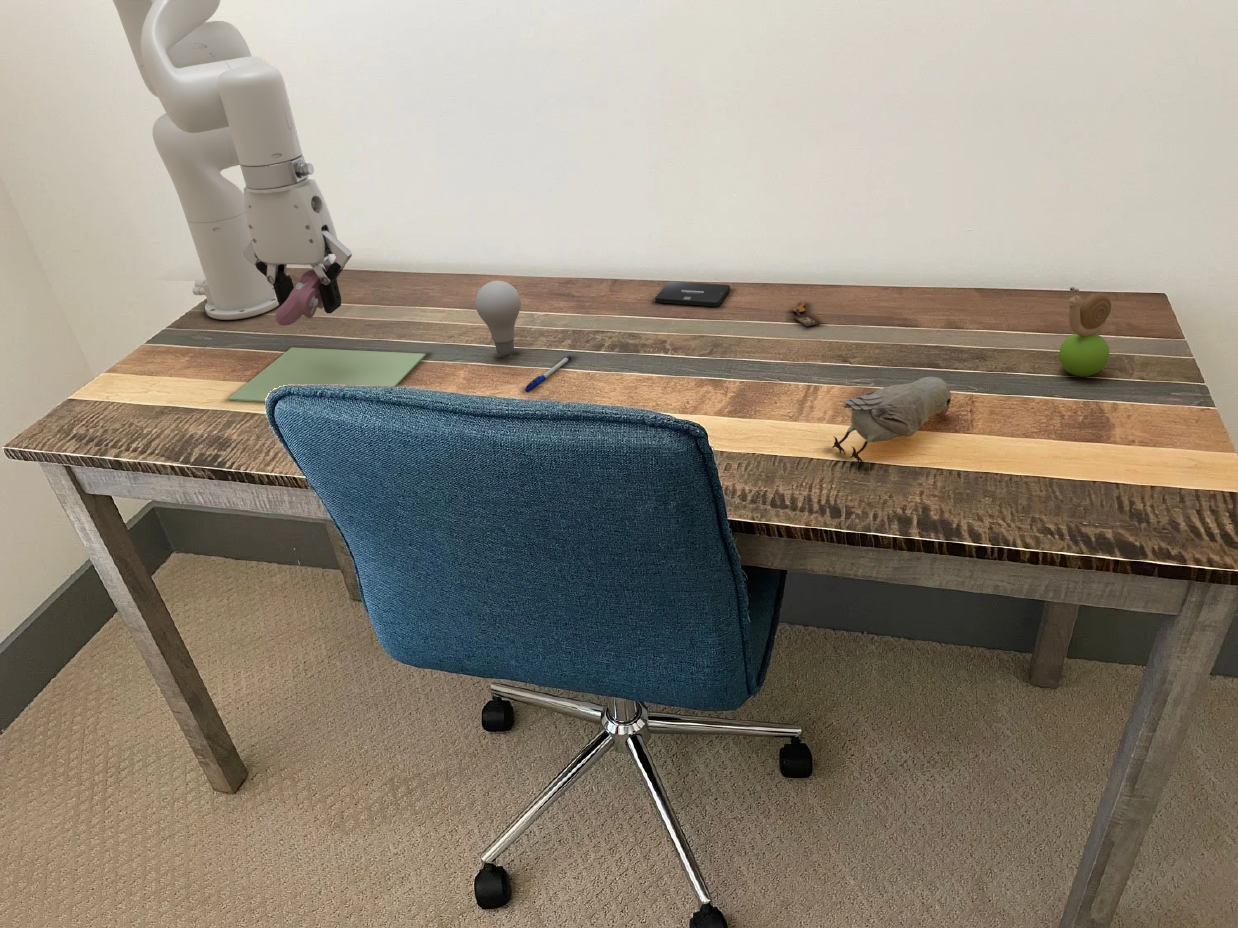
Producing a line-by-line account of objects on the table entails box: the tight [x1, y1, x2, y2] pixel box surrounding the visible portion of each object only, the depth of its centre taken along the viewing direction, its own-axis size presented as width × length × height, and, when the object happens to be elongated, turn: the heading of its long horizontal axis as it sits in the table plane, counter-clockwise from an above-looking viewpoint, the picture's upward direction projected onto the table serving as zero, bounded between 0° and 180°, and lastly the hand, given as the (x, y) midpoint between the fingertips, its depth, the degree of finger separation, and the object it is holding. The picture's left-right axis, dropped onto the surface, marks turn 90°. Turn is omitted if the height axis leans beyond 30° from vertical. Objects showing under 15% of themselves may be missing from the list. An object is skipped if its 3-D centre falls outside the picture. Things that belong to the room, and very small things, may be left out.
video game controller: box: [274, 267, 339, 327], centre depth 128 cm, size 10×5×7 cm, turn 168°
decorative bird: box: [831, 376, 952, 467], centre depth 106 cm, size 5×16×8 cm, turn 122°
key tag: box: [792, 301, 821, 328], centre depth 138 cm, size 8×3×1 cm, turn 7°
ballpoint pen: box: [524, 355, 571, 393], centre depth 129 cm, size 10×1×1 cm, turn 151°
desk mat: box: [228, 347, 427, 403], centre depth 134 cm, size 22×16×1 cm
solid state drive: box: [654, 280, 731, 307], centre depth 148 cm, size 7×10×1 cm
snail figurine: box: [1058, 286, 1112, 378], centre depth 114 cm, size 5×6×12 cm
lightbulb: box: [475, 280, 522, 358], centre depth 133 cm, size 6×6×11 cm
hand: (311, 307), depth 129 cm, fingers closed on video game controller, 6 cm apart
